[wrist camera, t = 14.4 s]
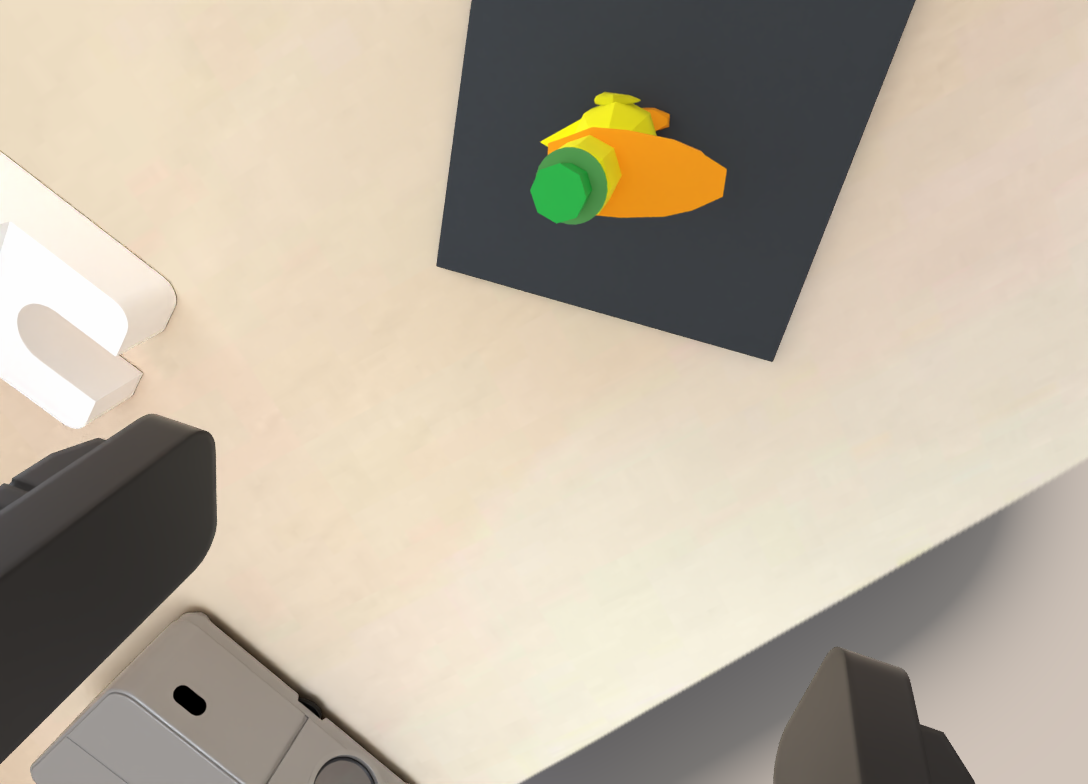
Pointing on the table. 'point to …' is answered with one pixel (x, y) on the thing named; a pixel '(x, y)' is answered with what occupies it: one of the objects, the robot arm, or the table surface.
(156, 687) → the projector
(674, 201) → the toy figure
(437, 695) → the table surface
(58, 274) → the slotted white bracket
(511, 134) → the mat
